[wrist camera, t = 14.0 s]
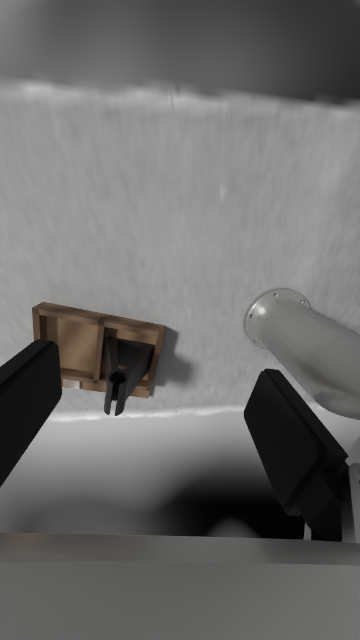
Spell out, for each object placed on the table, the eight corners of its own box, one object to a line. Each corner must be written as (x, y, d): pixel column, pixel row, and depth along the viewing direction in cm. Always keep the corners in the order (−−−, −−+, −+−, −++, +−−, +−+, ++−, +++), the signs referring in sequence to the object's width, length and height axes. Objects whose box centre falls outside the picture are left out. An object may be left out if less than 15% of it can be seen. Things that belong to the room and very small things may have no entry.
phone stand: (154, 344, 38) (149, 389, 27) (149, 368, 40) (142, 419, 29) (107, 336, 36) (81, 379, 25) (104, 361, 39) (79, 411, 28)
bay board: (164, 325, 37) (164, 332, 35) (148, 394, 44) (147, 405, 41) (43, 302, 34) (32, 307, 31) (45, 380, 41) (37, 391, 38)
